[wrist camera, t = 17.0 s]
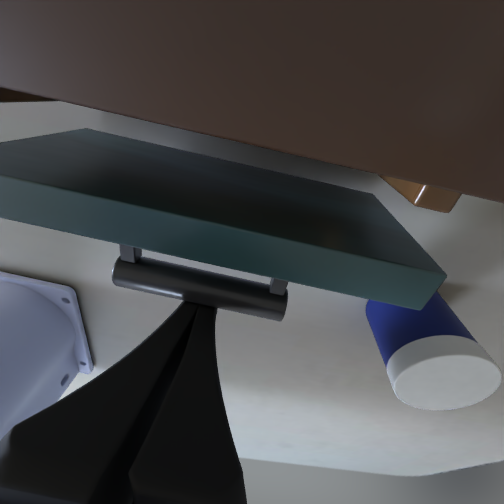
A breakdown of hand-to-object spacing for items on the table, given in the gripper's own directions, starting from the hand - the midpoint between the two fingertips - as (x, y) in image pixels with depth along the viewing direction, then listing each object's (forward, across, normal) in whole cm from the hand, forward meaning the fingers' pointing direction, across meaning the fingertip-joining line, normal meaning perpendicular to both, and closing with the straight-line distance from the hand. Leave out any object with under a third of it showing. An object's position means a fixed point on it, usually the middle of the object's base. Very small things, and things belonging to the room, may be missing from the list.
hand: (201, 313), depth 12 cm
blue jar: (+4, -11, 0) cm, 12 cm away
